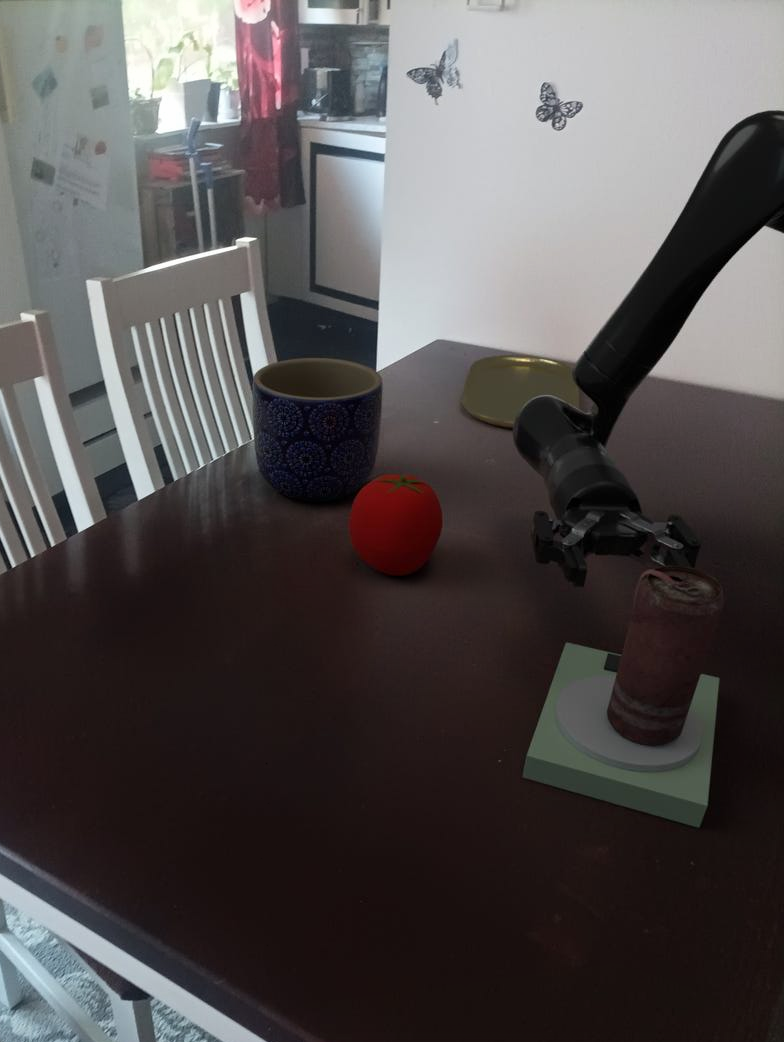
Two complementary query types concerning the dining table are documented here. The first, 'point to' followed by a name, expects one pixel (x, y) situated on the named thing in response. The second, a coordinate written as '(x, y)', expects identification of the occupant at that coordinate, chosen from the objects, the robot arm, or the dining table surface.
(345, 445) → the planter
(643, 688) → the can
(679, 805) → the scale
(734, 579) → the dining table surface
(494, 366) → the serving platter
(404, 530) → the tomato
